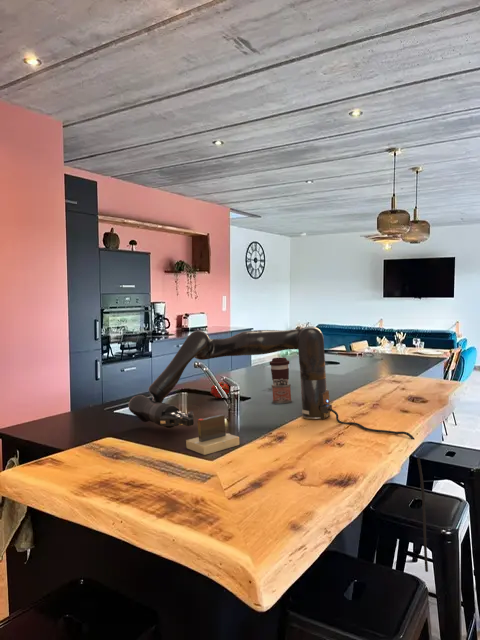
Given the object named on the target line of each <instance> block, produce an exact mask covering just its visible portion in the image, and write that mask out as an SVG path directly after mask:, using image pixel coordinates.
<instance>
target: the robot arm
mask: <svg viewBox="0 0 480 640" xmlns="http://www.w3.org/2000/svg"><path fill="white" fill-rule="evenodd" d="M324 339H325V338H324V334H323V332H322V331H321V329H319V328H318V327H316V326H313V325H310V326H305V327H300V328H293V329H286V330H279V329H278V330H277V329H257V330H256V329H255V330H245V331H241V332H239V333H236V334H234V335H232V336H229V337H226V338H210V337H209V335H208V333H207V332H205V331H203V330H195V331H193V332H191V333H190V334H189V335H188V336H187V337H186V339H185V340H184V342H183V343H182V345H181V347H180V348H179V349H178V351H177V353H175V355H174V357H173V358H172V359H171V361H170V362H169V363H168V364H167V366H166V368H165V369H163V371H162V372H161V373H160V374H159V375H158V376H157V377H156V379H154V381H153V382H152V383H151V384H150V385H149V386H148V392H149V394H150V395H151V397H152V399H151V398H149V397H148V396H145V395H143V394H137V395H135V396H133V397H131V398H130V400H129V401H128V411H130V413H132V414H133V415H134V416H135V417H136V418H137V419H139V420H140V421H142V422H143V423H149V422H152V423H154V424H156V425H158V426H160V427H164V428H168V429H171V428H174V427H177V426H186V427H191V426H194V423H195V421H194V420H195V419H194V411H193V410H190V411H188V412H186V411H181V410H180V408H178V406H176V405H173V404H170V403H166V402H164V400H165V399H166V397H167V396H168V395H169V394H170V393H171V392H172V390H173V389H174V388H175V387H176V385H177V384H178V383H179V381H180V379H181V377H182V375H183V373H184V372H185V370H186V368H187V367H188V365H189V364H190V363H191V361H192V360H193V359H196V360H200V361H205V360H210V359H216V358H223V357H241V356H259V355H268V354H273V353H277V352H281V351H288V350H297V351H298V352H297V353H298V364H299V373H300V375H299V376H300V392H301V393H300V394H301V407H302V408H301V413H302V418H303V419H306V420H325V419H327V418H328V417H330V416H331V412H332V413H333V414H334V415H335V420H336V422H337V423H339V424H342V425H349V426H351V425H353V426H357V427H359V428H361V429H363V430H365V431H368V432H373V433H384V434H393V435H407V436H408V437H409V438H410V439H411V440H415V437H414V436H413V435H412V434H411V433H410V432H408V431H395V430H385V429H376V428H375V429H374V428H369V427H366V426H363V425H362V424H360V423H358V422H354V421H346V422H345V421H341V420H340V418H339V413H338V412H337V411H335V410H334V409H333V404H331V403H330V391H329V389H327V374H326V356H325V340H324ZM416 461H417V466H418V473H419V480H420V481H419V482H420V491H421V492H420V493H421V506H422V508H421V509H422V531H423V532H422V533H423V534H422V535H423V556H424V557H423V558H424V559H423V560H424V570H425V573H429V563H428V547H427V546H428V545H427V517H426V515H427V513H426V497H425V495H426V494H425V484H424V476H423V470H422V469H423V468H422V463H421V458H420V457H418V458H417V459H416Z"/></svg>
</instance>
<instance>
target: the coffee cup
mask: <svg viewBox="0 0 480 640" xmlns="http://www.w3.org/2000/svg"><path fill="white" fill-rule="evenodd" d="M290 364H291V362H290V360H289V359H287V357H283V356H280V357H279V356H278V357H273V358H272V359H271V360H270V361H269V366H270V372H271V373H270V374H271V380H272V381H273V380H275V379H279V380H280V379H283V380H285V379H287V381H288V382H287V384H289V379H290V368H289V365H290ZM279 383H280V382H279ZM279 383H278V384H279ZM284 383H285V382H284ZM285 384H286V383H285ZM272 385H276V383H273V382H272Z"/></svg>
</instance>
